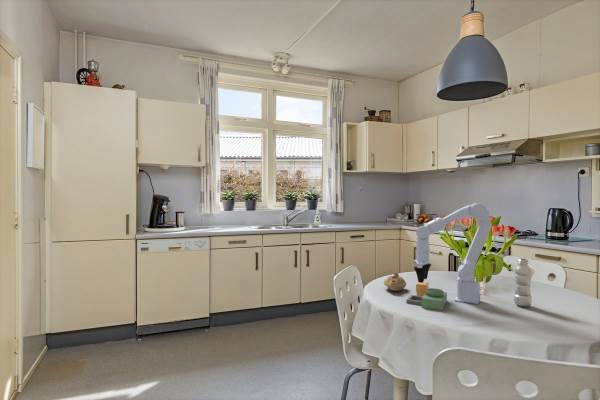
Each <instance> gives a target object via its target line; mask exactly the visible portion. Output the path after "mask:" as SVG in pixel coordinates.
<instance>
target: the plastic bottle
mask: <svg viewBox="0 0 600 400" xmlns="http://www.w3.org/2000/svg"><path fill="white" fill-rule="evenodd" d="M517 264H518V265H516V267H515V268H514V270H513V273H514V279H515V291H514V295H513V302H514V304H515V305H516V306H519V307H525V308H527V307H531V306H532V304H533V298H532V293H531V282H532V274H533V272H532V270H531V268H530V266H529V259H527V258H517Z"/></svg>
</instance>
